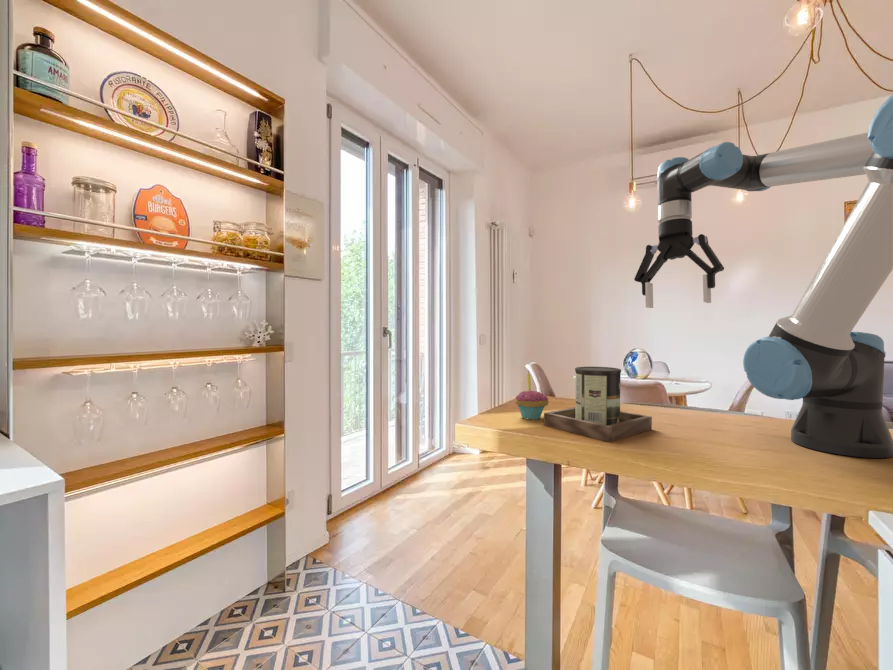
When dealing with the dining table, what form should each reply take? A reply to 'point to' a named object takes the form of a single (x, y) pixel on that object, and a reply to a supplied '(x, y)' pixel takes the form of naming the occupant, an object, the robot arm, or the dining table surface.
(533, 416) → the cupcake
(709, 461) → the dining table surface
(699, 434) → the dining table surface
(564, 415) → the dark brown wooden tray
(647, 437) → the dining table surface
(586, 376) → the coffee can
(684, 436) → the dining table surface
